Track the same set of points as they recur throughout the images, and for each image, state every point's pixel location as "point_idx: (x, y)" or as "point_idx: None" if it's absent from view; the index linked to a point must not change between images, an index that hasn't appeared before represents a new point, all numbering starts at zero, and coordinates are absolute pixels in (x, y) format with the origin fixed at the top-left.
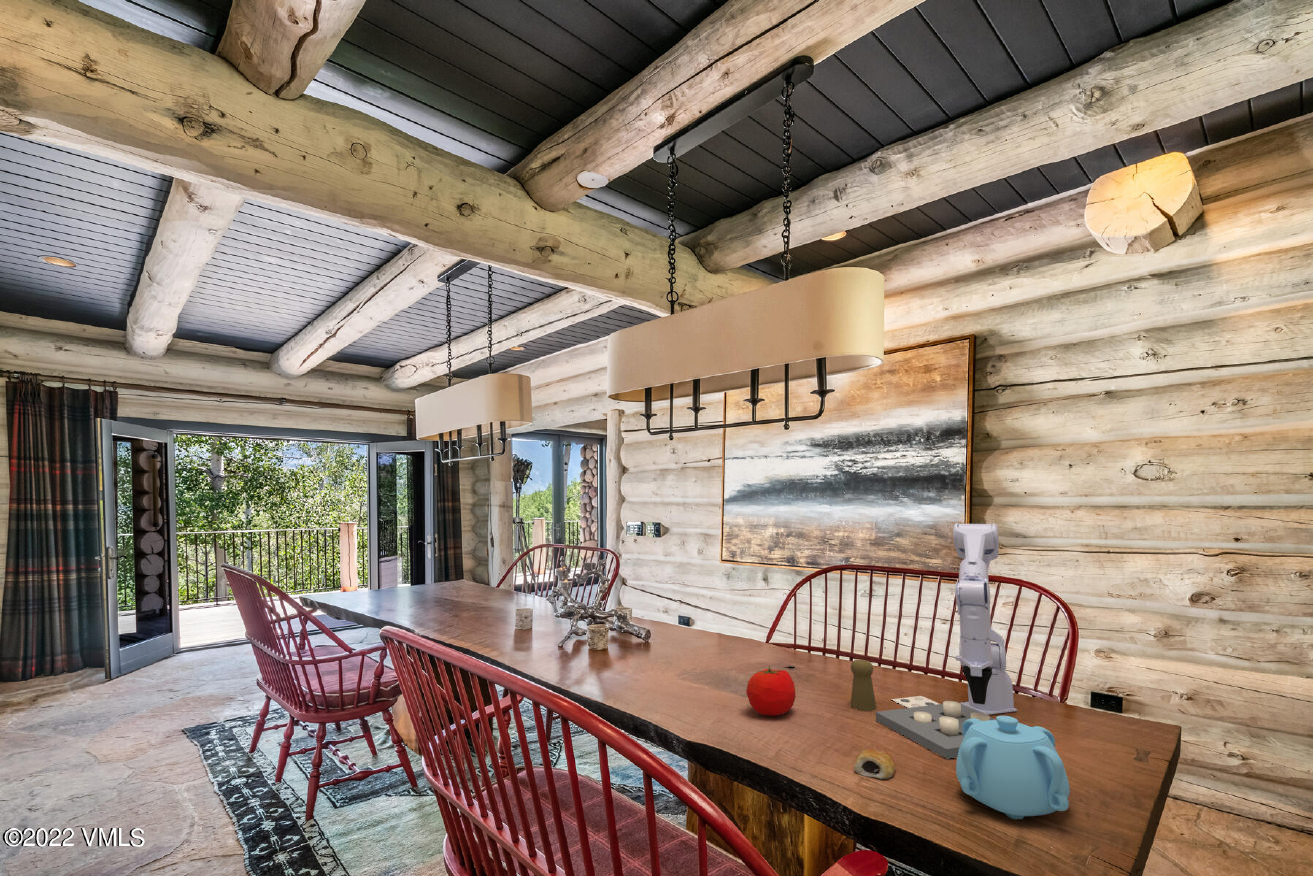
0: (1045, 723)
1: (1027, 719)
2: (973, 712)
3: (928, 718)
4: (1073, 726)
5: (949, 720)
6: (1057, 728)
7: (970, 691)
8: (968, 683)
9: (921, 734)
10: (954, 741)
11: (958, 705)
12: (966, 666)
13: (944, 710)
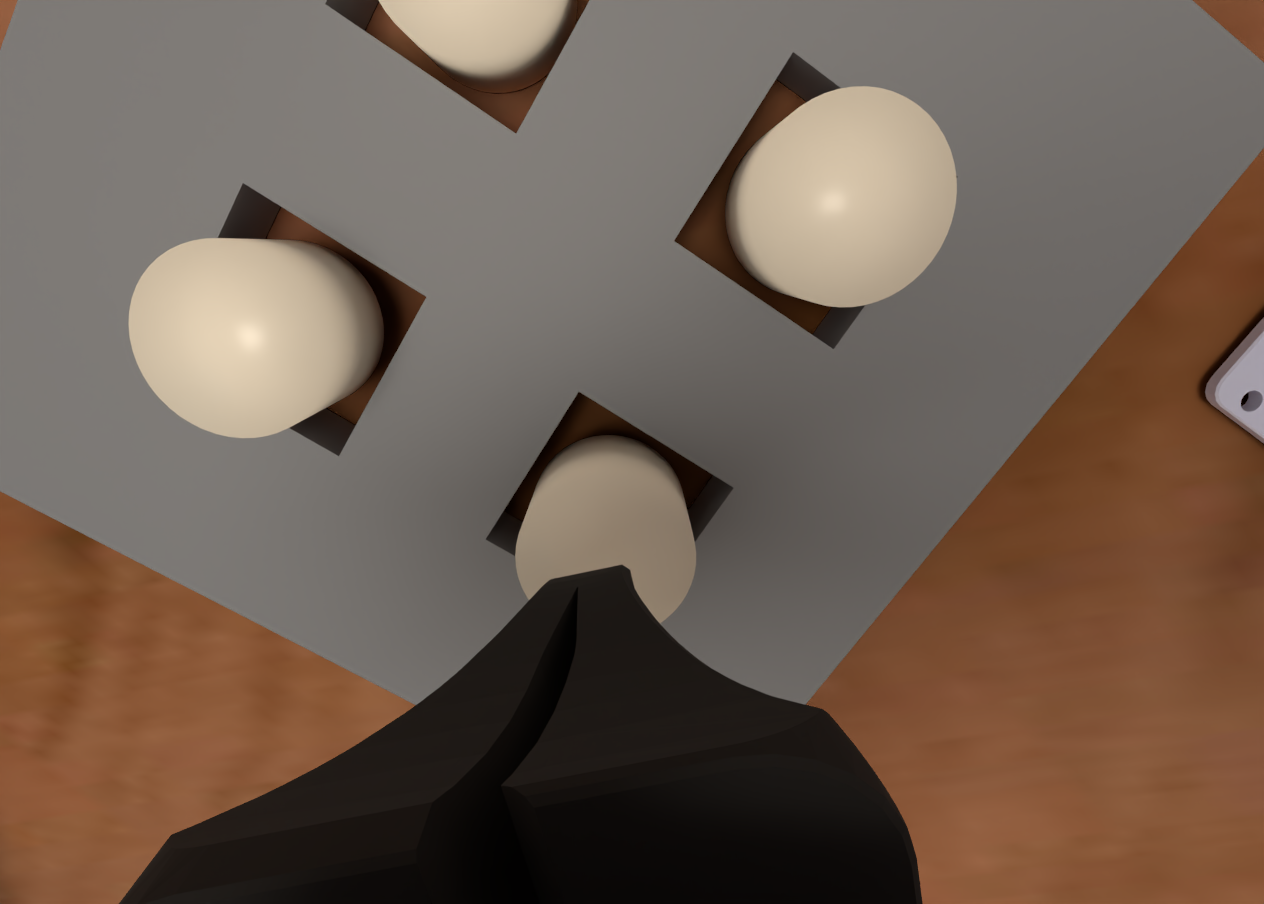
0: (1217, 763)
1: (1258, 659)
2: (1018, 360)
3: (422, 48)
4: (1235, 894)
5: (204, 356)
6: (1139, 832)
7: (496, 636)
8: (403, 717)
9: (8, 122)
10: (93, 428)
11: (817, 290)
12: (771, 854)
13: (767, 133)
